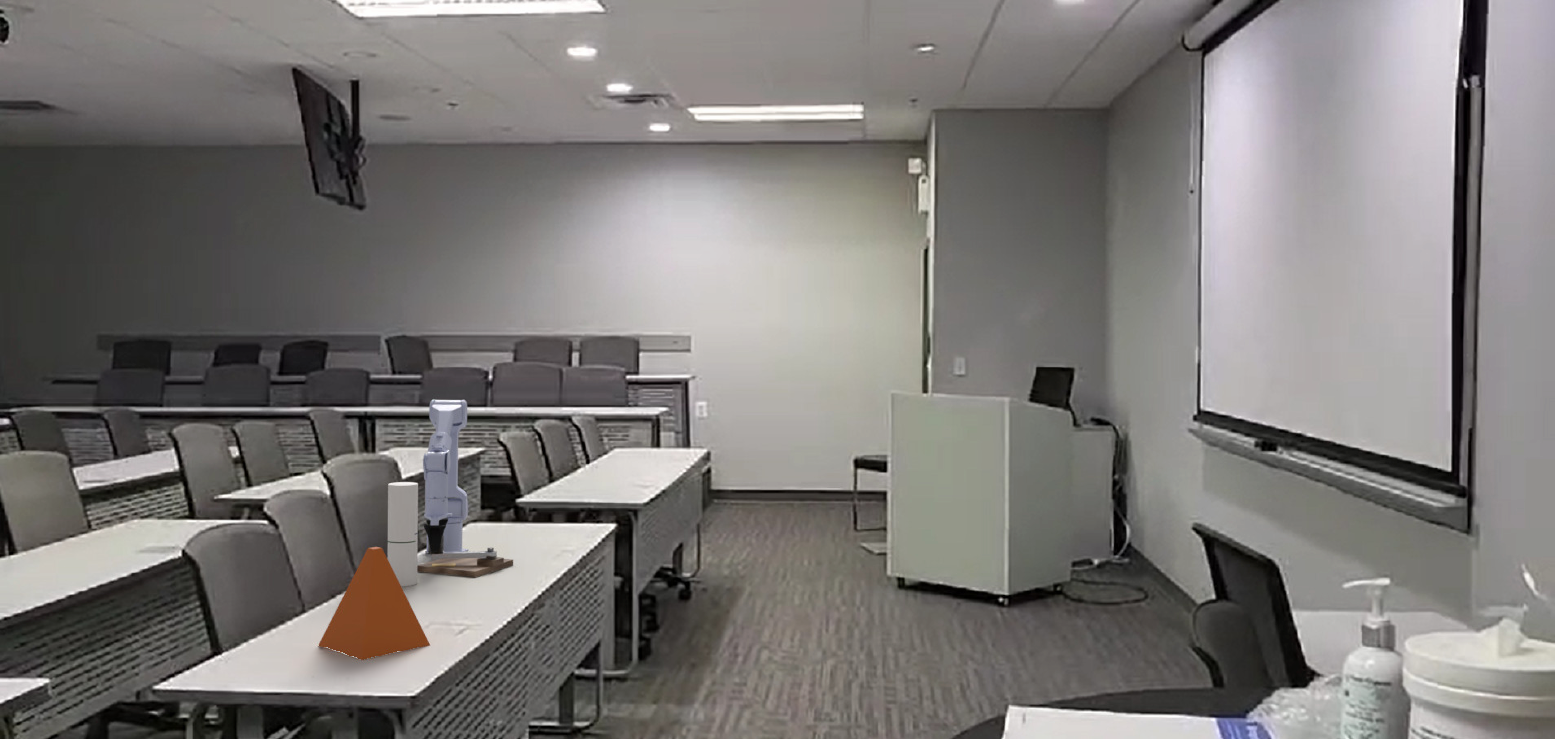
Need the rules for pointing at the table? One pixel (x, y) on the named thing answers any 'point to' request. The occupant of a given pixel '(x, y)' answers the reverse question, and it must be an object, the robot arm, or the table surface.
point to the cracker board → (465, 566)
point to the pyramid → (374, 613)
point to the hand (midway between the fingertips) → (435, 548)
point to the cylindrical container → (403, 531)
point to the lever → (461, 553)
